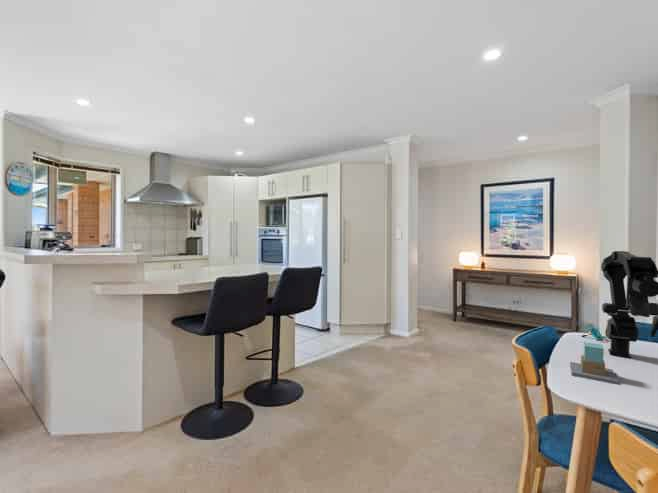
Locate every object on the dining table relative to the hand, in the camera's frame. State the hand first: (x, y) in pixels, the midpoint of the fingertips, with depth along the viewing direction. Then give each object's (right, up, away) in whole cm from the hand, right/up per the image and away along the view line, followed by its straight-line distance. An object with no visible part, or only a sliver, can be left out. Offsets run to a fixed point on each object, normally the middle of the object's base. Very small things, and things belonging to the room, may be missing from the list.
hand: (634, 334), depth 122 cm
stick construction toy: (+11, -11, +34) cm, 38 cm away
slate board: (-19, -12, -5) cm, 23 cm away
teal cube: (-19, -7, -5) cm, 21 cm away
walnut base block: (-19, -12, -5) cm, 23 cm away
